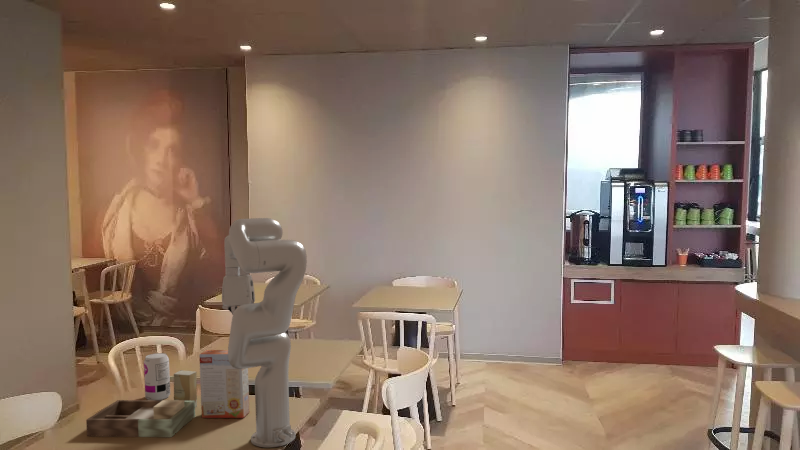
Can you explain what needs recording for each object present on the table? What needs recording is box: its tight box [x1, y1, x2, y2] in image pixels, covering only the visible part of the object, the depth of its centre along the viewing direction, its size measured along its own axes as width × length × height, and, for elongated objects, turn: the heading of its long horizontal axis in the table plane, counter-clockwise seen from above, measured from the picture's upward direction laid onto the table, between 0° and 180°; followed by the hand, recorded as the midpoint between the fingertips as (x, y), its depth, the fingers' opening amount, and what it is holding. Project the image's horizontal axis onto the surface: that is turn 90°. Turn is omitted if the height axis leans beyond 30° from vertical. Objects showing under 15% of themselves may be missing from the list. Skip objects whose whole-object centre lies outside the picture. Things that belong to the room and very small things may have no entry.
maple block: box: [153, 399, 185, 419], centre depth 184 cm, size 7×6×4 cm
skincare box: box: [173, 370, 198, 408], centre depth 200 cm, size 6×4×12 cm
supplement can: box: [143, 352, 171, 400], centre depth 211 cm, size 8×8×15 cm
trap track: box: [85, 399, 197, 438], centre depth 185 cm, size 26×17×5 cm, turn 85°
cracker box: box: [199, 349, 250, 419], centre depth 192 cm, size 14×6×21 cm, turn 84°
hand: (239, 326), depth 200 cm, fingers closed
